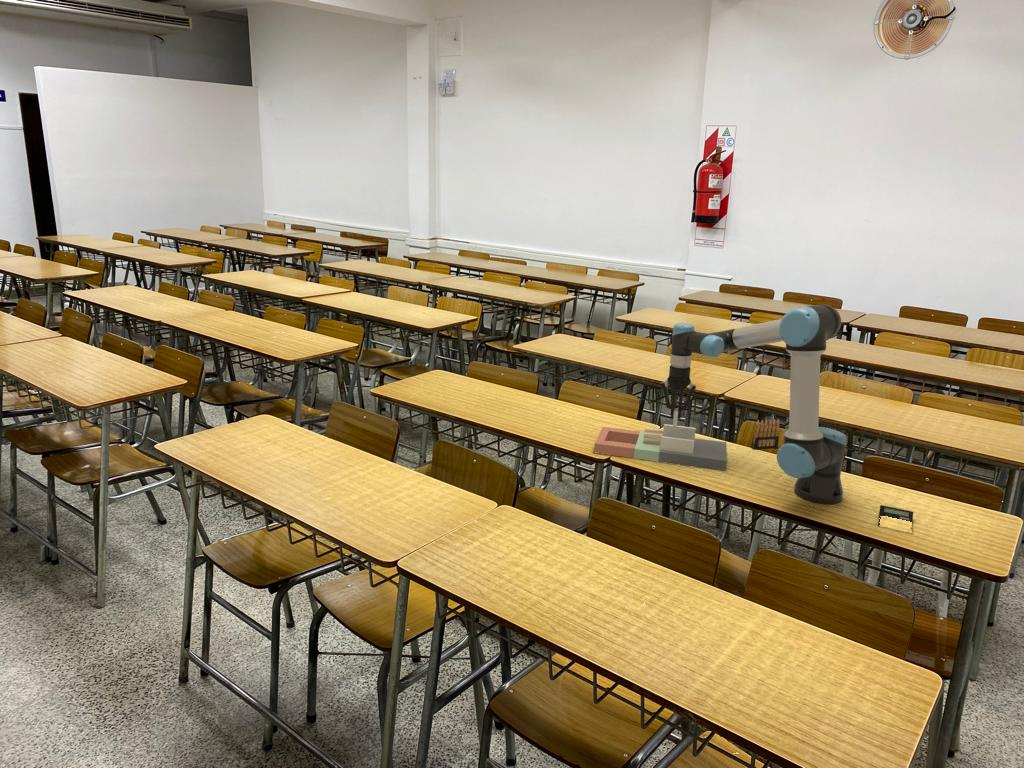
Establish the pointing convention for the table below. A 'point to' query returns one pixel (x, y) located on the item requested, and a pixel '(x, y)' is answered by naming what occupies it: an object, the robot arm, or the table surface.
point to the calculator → (895, 513)
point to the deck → (665, 447)
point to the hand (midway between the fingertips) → (674, 426)
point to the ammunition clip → (766, 436)
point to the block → (653, 436)
